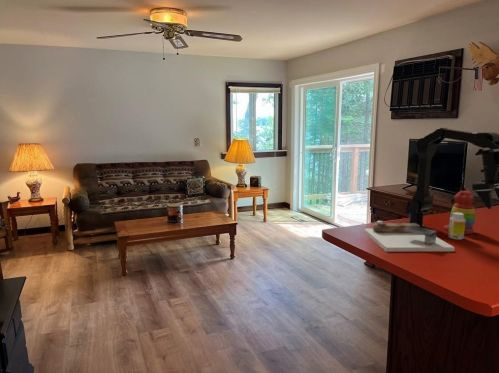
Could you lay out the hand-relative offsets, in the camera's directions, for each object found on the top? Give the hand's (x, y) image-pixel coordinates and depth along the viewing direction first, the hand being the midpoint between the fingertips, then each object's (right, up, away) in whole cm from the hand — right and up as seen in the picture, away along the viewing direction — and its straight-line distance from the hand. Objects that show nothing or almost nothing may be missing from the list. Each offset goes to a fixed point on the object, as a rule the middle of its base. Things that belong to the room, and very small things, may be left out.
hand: (496, 207), depth 137 cm
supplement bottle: (-8, -13, +13) cm, 20 cm away
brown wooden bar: (-32, -10, +16) cm, 37 cm away
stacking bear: (0, -12, +23) cm, 26 cm away
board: (-31, -14, +8) cm, 35 cm away
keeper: (-27, -13, +3) cm, 31 cm away
